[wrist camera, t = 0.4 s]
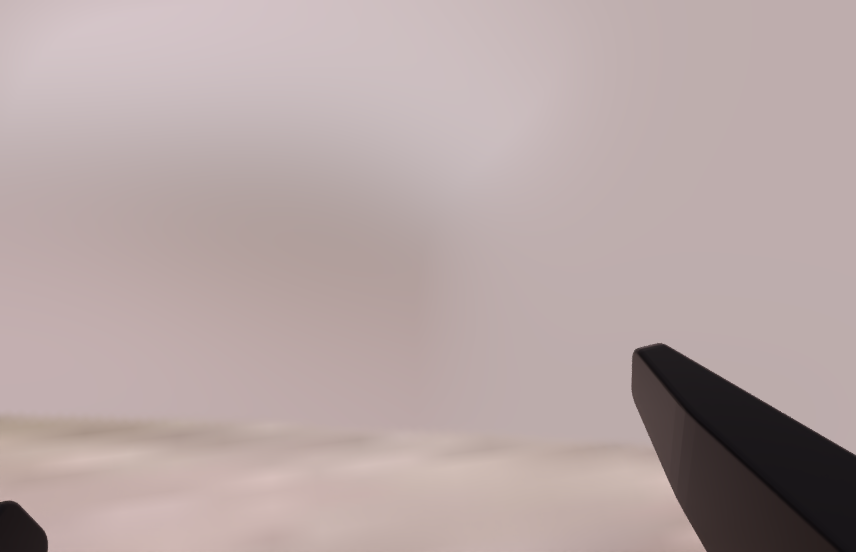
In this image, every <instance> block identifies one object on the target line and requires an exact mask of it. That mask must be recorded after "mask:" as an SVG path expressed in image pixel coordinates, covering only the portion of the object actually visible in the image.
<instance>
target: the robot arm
mask: <svg viewBox="0 0 856 552" xmlns="http://www.w3.org/2000/svg"><path fill="white" fill-rule="evenodd" d="M632 395H633V399H634V402H635V404H636V407H637V409H638V411H639V414H640V416H641V418H642V421H643V423H644V425H645V428H646V430H647V432H648V435H649V437H650V439H651V441H652V444H653V446H654V448H655V451H656V453H657V455H658V458H659V460H660V462H661V464H662V467H663V469H664V471H665V474H666V476H667V478H668V481H669V483H670V485H671V487H672V489H673V492H674V494H675V496H676V498H677V500H678V502H679V504H680V505H681V507H682V509H683V511H684V513H685V515H686V516H687V518H688V520H689V522H690V523H691V525H692V527H693V529H694V530H695V532H696V534H697V536H698V537H699V539H700V541H701V542H702V544H703V546H704V548H705V549H706V551H707V552H856V455H854V454H853V453H851V452H849V451H848V450H846V449H844V448H842V447H841V446H839V445H837V444H835V443H834V442H832V441H830V440H829V439H827V438H825V437H824V436H822V435H820V434H818V433H817V432H815V431H813V430H812V429H810V428H808V427H806V426H805V425H803V424H801V423H799V422H798V421H796V420H794V419H793V418H791V417H789V416H787V415H786V414H784V413H782V412H781V411H779V410H777V409H775V408H774V407H772V406H770V405H769V404H767V403H765V402H763V401H762V400H760V399H758V398H756V397H755V396H753V395H751V394H750V393H748V392H746V391H745V390H743V389H741V388H739V387H738V386H736V385H734V384H733V383H731V382H729V381H727V380H726V379H724V378H722V377H721V376H719V375H717V374H715V373H714V372H712V371H710V370H708V369H707V368H705V367H703V366H702V365H700V364H698V363H697V362H695V361H693V360H691V359H689V358H688V357H686V356H684V355H683V354H681V353H679V352H677V351H676V350H674V349H672V348H671V347H669V346H667V345H665V344H662V343H657V344H653V345H648V346H644V347H641V348H637V349H635V351H634V353H633V356H632ZM0 552H48V540H47V536H46V533H45V531H44V530H43V529H42V528H41V527H40V526H39V525H38V523H37V522H36V521H35V520H34V519H33V518H32V517H31V516H30V515H29V514H28V513H27V512H26V511H25V510H24V509H23V508H22V507H21V506H20V505H19V504H18V503H16V502H14V501H4V502H0Z"/></svg>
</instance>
